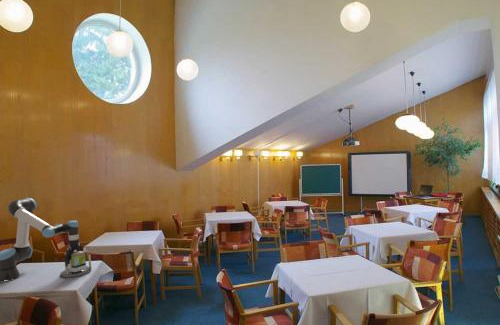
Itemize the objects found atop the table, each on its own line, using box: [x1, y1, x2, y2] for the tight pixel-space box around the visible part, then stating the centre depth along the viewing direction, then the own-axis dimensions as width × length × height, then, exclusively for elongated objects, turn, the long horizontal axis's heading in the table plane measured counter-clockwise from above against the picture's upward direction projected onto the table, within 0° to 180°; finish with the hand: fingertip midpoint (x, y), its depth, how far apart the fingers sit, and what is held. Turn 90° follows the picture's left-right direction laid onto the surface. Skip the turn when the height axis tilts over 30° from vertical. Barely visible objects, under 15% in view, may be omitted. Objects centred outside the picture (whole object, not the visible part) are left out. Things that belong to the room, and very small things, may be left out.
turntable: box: [59, 254, 92, 279], centre depth 274 cm, size 23×23×13 cm
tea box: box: [63, 250, 87, 272], centre depth 274 cm, size 15×10×15 cm
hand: (75, 265), depth 274 cm, fingers closed on tea box, 11 cm apart
